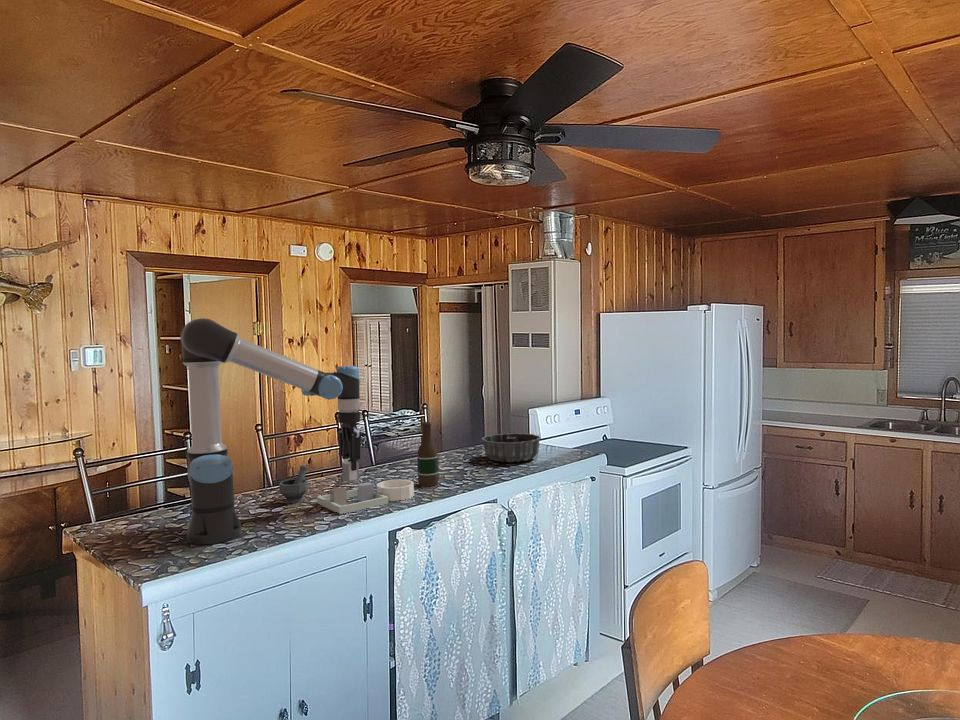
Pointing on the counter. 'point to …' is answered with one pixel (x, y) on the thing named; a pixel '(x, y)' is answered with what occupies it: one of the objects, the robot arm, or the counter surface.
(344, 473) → the grey rectangular block
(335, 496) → the taupe block
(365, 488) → the light grey cuboid
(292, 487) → the mortar and pestle
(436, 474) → the beer bottle
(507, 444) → the bundt pan
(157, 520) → the counter surface
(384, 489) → the bowl
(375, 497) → the square frame
